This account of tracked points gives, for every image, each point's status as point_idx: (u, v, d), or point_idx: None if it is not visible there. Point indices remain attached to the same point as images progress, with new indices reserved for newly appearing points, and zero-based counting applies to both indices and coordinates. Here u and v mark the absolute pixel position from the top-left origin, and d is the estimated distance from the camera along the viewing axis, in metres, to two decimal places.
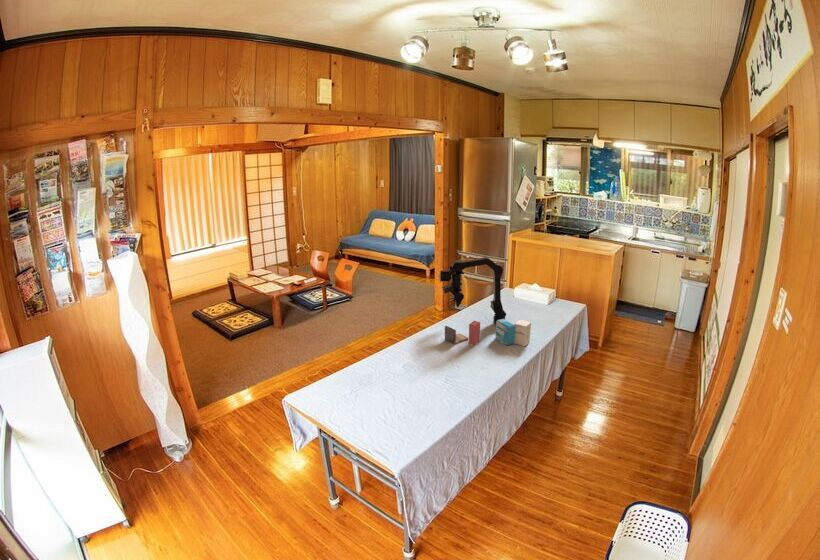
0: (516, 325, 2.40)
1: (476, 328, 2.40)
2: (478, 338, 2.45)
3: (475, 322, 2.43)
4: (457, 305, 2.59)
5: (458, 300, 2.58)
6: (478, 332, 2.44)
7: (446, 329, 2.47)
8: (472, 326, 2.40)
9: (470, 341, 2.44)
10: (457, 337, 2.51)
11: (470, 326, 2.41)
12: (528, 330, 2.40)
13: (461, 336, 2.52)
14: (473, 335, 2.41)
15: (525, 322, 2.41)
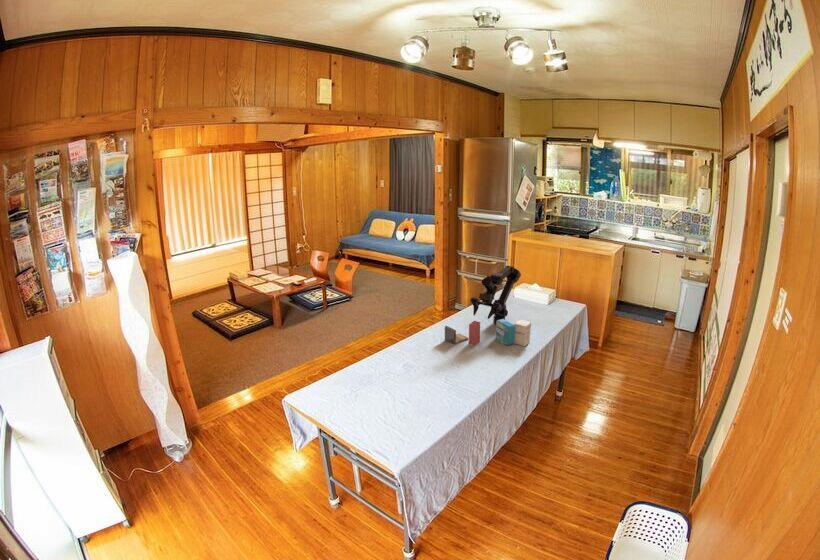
0: (516, 325, 2.40)
1: (476, 328, 2.40)
2: (478, 338, 2.45)
3: (475, 322, 2.43)
4: (489, 316, 2.46)
5: (492, 312, 2.47)
6: (478, 332, 2.44)
7: (446, 329, 2.47)
8: (472, 326, 2.40)
9: (470, 341, 2.44)
10: (457, 337, 2.51)
11: (470, 326, 2.41)
12: (528, 330, 2.40)
13: (461, 336, 2.52)
14: (473, 335, 2.41)
15: (525, 322, 2.41)
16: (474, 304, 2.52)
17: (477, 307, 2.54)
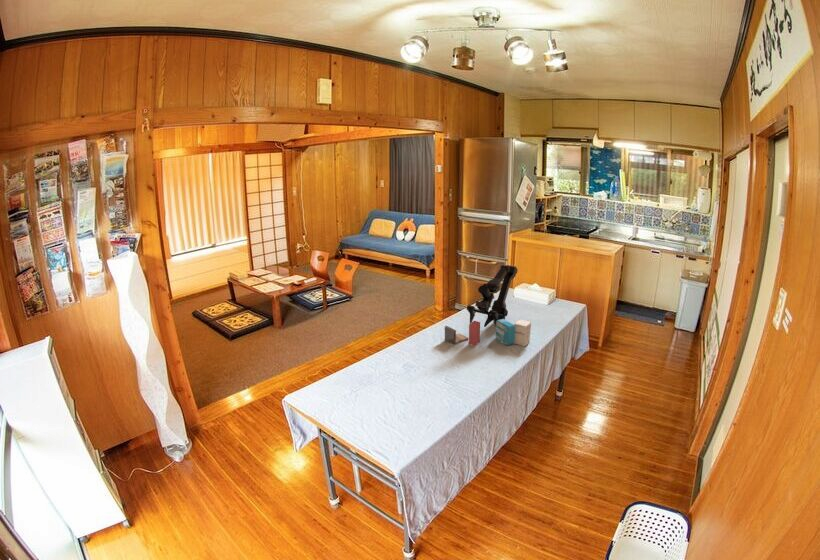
0: (516, 325, 2.40)
1: (476, 328, 2.40)
2: (478, 338, 2.45)
3: (475, 322, 2.43)
4: (486, 324, 2.43)
5: (489, 320, 2.44)
6: (478, 332, 2.44)
7: (446, 329, 2.47)
8: (472, 326, 2.40)
9: (470, 341, 2.44)
10: (457, 337, 2.51)
11: (470, 326, 2.41)
12: (528, 330, 2.40)
13: (461, 336, 2.52)
14: (473, 335, 2.41)
15: (525, 322, 2.41)
16: (470, 312, 2.49)
17: (473, 315, 2.51)
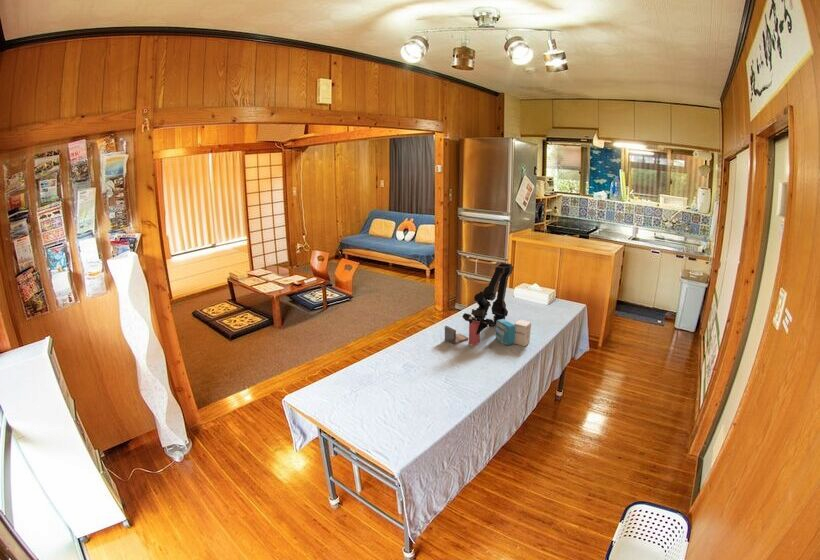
0: (516, 325, 2.40)
1: (476, 328, 2.40)
2: (478, 338, 2.45)
3: (475, 322, 2.43)
4: (478, 332, 2.42)
5: (481, 327, 2.43)
6: None
7: (446, 329, 2.47)
8: (472, 326, 2.40)
9: (470, 341, 2.44)
10: (457, 337, 2.51)
11: (470, 326, 2.41)
12: (528, 330, 2.40)
13: (461, 336, 2.52)
14: (473, 335, 2.41)
15: (525, 322, 2.41)
16: (470, 321, 2.45)
17: None
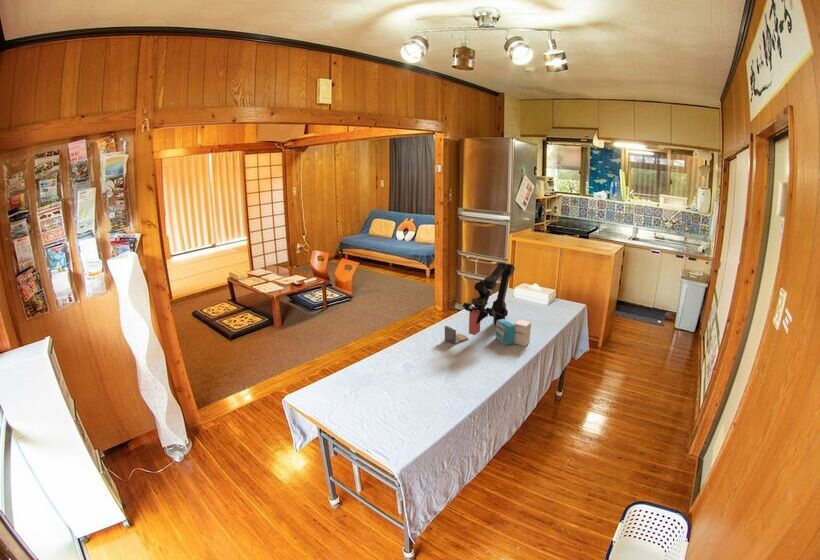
0: (516, 325, 2.40)
1: (476, 317, 2.38)
2: (478, 327, 2.43)
3: (475, 311, 2.41)
4: (478, 321, 2.40)
5: (482, 316, 2.41)
6: None
7: (446, 329, 2.47)
8: (472, 315, 2.38)
9: (470, 330, 2.42)
10: (457, 337, 2.51)
11: (470, 315, 2.39)
12: (528, 330, 2.40)
13: (461, 336, 2.52)
14: (473, 324, 2.39)
15: (525, 322, 2.41)
16: (470, 310, 2.43)
17: None
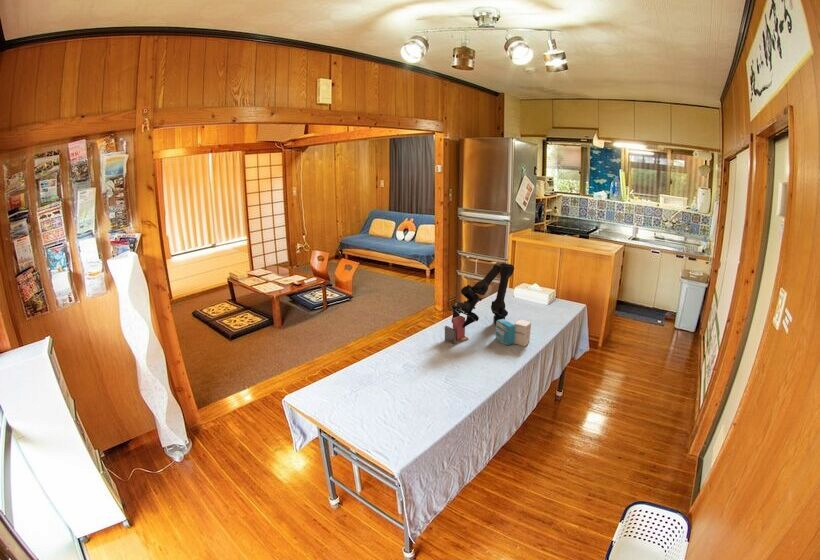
0: (516, 325, 2.40)
1: (459, 322, 2.45)
2: (462, 333, 2.49)
3: (460, 317, 2.48)
4: (464, 325, 2.44)
5: (468, 321, 2.44)
6: None
7: (446, 329, 2.47)
8: (455, 320, 2.45)
9: None
10: None
11: (453, 320, 2.46)
12: (528, 330, 2.40)
13: None
14: (456, 329, 2.47)
15: (525, 322, 2.41)
16: (453, 311, 2.52)
17: (457, 315, 2.53)
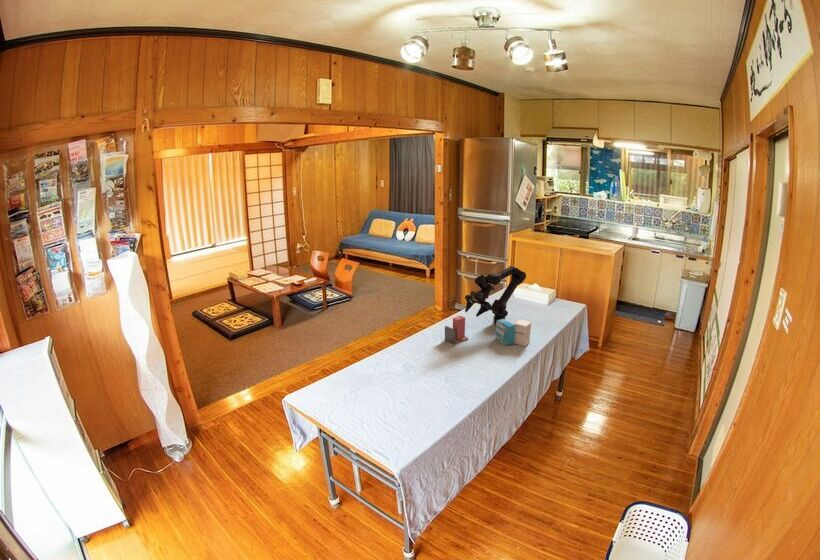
0: (516, 325, 2.40)
1: (459, 322, 2.45)
2: (462, 333, 2.49)
3: (460, 317, 2.48)
4: (478, 314, 2.49)
5: (482, 310, 2.49)
6: (462, 327, 2.48)
7: (446, 329, 2.47)
8: (455, 320, 2.45)
9: None
10: None
11: (453, 320, 2.46)
12: (528, 330, 2.40)
13: None
14: (456, 329, 2.47)
15: (525, 322, 2.41)
16: (467, 301, 2.57)
17: (471, 304, 2.58)
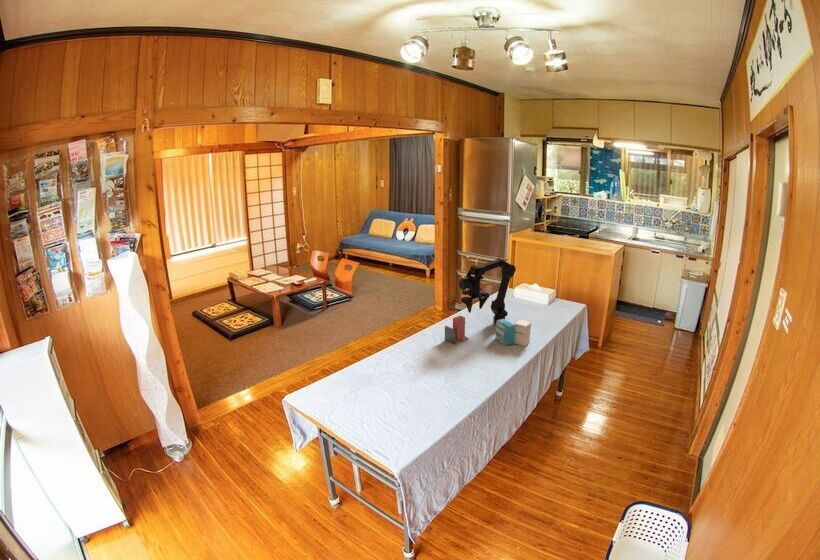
0: (516, 325, 2.40)
1: (459, 322, 2.45)
2: (462, 333, 2.49)
3: (460, 317, 2.48)
4: (468, 310, 2.55)
5: (468, 305, 2.53)
6: (462, 327, 2.48)
7: (446, 329, 2.47)
8: (455, 320, 2.45)
9: None
10: None
11: (453, 320, 2.46)
12: (528, 330, 2.40)
13: None
14: (456, 329, 2.47)
15: (525, 322, 2.41)
16: None
17: (482, 300, 2.59)
